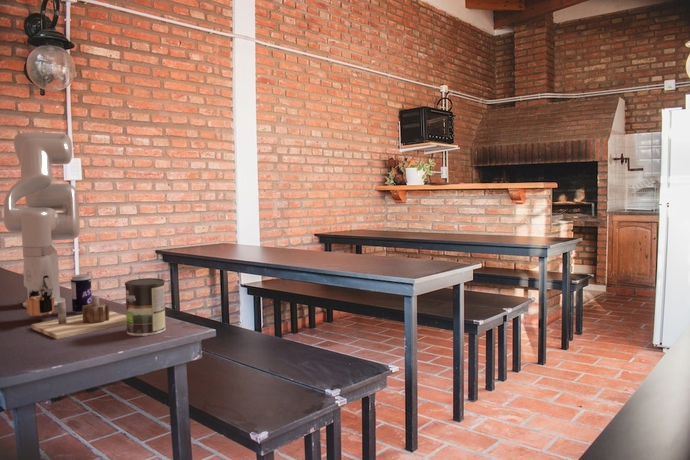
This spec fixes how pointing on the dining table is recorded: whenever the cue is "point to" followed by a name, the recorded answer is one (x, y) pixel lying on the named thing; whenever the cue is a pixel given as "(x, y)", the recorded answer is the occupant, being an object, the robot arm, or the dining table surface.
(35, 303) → the loose gear
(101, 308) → the gear board
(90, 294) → the beverage can
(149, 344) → the dining table surface
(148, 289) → the coffee can
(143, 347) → the dining table surface
